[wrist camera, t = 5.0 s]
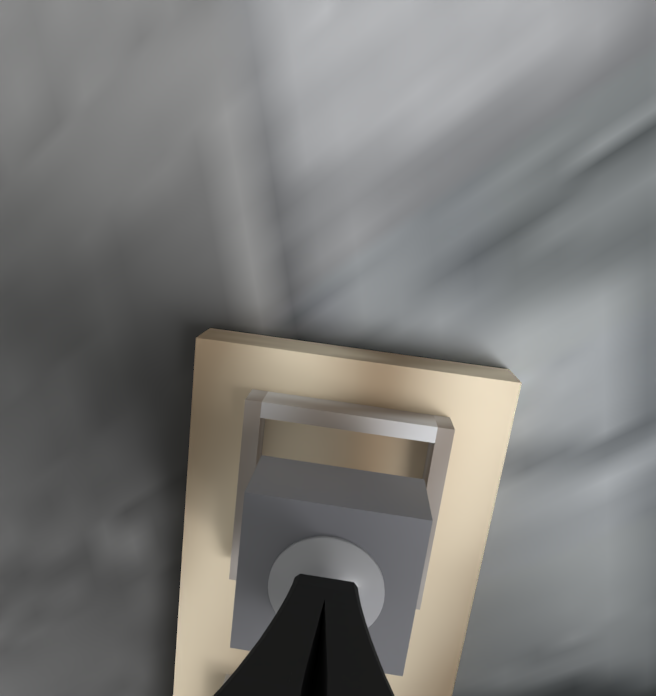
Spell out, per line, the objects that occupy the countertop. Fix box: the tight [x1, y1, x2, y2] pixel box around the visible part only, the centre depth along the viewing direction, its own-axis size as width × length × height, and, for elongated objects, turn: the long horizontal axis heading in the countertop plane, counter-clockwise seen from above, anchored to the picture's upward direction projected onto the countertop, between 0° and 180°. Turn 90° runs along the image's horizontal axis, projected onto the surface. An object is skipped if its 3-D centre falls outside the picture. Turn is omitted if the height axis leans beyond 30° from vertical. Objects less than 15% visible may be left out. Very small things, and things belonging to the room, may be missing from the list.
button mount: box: [173, 328, 522, 696], centre depth 19 cm, size 10×20×2 cm, turn 173°
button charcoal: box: [230, 455, 433, 676], centre depth 14 cm, size 4×4×2 cm
